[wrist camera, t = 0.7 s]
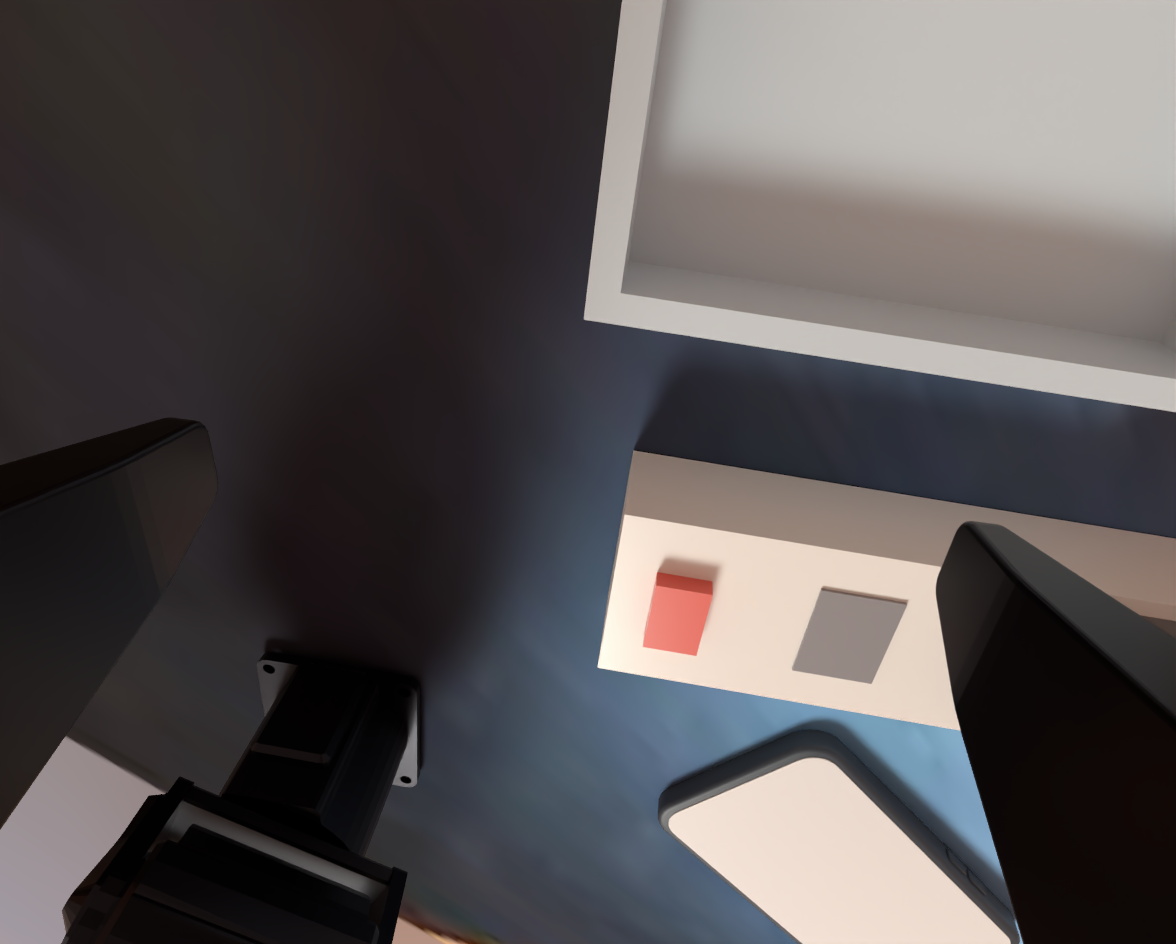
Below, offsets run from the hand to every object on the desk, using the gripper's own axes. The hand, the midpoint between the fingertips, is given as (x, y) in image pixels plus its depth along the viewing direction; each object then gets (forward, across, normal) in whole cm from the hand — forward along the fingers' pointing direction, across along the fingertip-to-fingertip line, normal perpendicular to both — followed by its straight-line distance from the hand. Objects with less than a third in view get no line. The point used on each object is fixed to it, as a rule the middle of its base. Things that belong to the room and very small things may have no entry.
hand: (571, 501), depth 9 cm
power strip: (+13, -14, +10) cm, 22 cm away
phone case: (+14, -12, +26) cm, 32 cm away
